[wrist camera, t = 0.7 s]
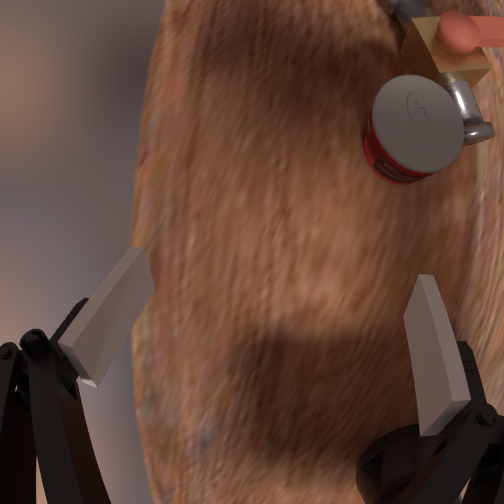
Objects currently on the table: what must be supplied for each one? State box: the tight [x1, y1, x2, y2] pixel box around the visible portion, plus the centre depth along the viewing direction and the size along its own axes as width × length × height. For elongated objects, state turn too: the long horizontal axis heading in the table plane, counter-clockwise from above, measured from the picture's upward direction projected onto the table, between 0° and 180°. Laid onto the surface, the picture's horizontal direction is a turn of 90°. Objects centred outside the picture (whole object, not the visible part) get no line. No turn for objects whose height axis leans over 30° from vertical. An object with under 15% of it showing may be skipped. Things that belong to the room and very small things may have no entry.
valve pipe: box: [383, 0, 496, 147], centre depth 23 cm, size 18×6×9 cm, turn 15°
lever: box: [436, 10, 504, 55], centre depth 17 cm, size 14×4×2 cm, turn 105°
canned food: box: [363, 75, 464, 185], centre depth 25 cm, size 8×8×11 cm
